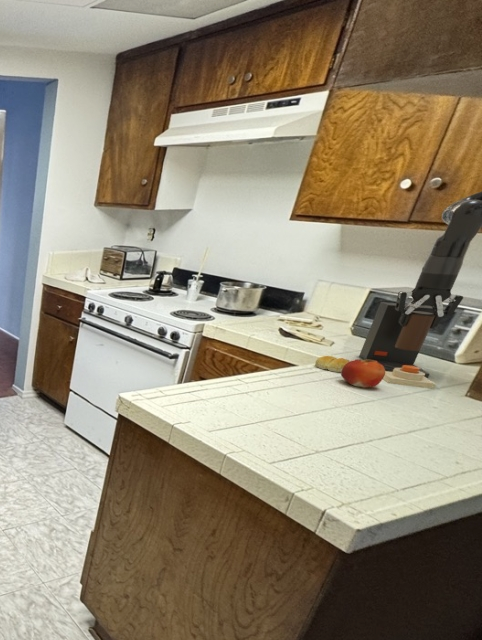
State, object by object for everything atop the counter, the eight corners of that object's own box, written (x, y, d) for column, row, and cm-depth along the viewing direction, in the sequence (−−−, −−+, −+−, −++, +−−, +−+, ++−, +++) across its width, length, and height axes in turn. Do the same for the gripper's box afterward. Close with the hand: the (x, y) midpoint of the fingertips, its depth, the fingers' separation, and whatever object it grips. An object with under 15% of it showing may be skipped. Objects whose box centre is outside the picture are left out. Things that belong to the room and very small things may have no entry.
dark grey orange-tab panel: (427, 378, 146) (457, 315, 138) (376, 372, 151) (402, 310, 143) (403, 363, 160) (429, 305, 152) (357, 358, 165) (380, 301, 157)
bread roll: (322, 363, 159) (327, 352, 157) (354, 371, 151) (359, 359, 149) (307, 365, 156) (311, 354, 154) (339, 374, 148) (344, 362, 147)
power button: (414, 371, 142) (416, 366, 141) (419, 375, 139) (422, 369, 138) (398, 369, 143) (400, 364, 143) (403, 373, 140) (405, 367, 140)
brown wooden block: (388, 343, 154) (403, 308, 150) (412, 345, 151) (427, 310, 147) (398, 349, 147) (413, 313, 143) (423, 351, 145) (440, 315, 141)
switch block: (420, 380, 144) (425, 370, 142) (433, 389, 137) (438, 377, 136) (377, 375, 148) (382, 364, 146) (388, 383, 141) (392, 372, 140)
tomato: (383, 393, 133) (394, 366, 130) (341, 386, 138) (351, 360, 135) (373, 383, 141) (384, 358, 138) (334, 377, 145) (343, 353, 142)
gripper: (413, 271, 140) (390, 326, 146) (481, 274, 134) (454, 332, 140) (402, 268, 146) (381, 321, 152) (466, 271, 140) (442, 327, 146)
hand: (416, 326), depth 146 cm, fingers closed on brown wooden block, 6 cm apart
